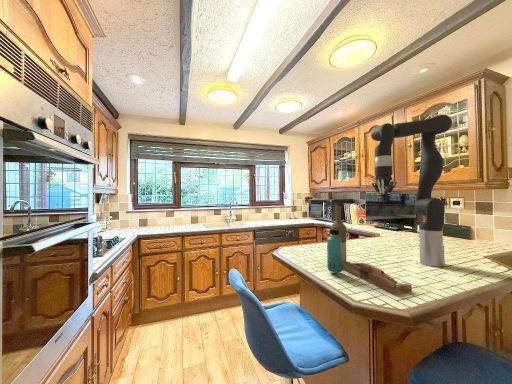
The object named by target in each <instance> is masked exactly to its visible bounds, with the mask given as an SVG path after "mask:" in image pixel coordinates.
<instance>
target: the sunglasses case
mask: <svg viewBox="0 0 512 384" xmlns="http://www.w3.org/2000/svg"><path fill="white" fill-rule="evenodd" d="M358 263H359V264H358V266H359V267H360V264H362V263H363V264H365V265H367V266H370V267H371V268H372V273H375V274H377V275H379V276H382V277H384V278H386V279H388V280H391V281H393V282H395V283H396V285H398V284H399V282H398V281H397V280H395V279H394V278H393V277H391V276H390V275H389V274H387V273H386V272H385V271H384V270H382V269H380V268H378V267H376V266H374V265H371V264H369V263H365V262H358Z"/></svg>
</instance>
